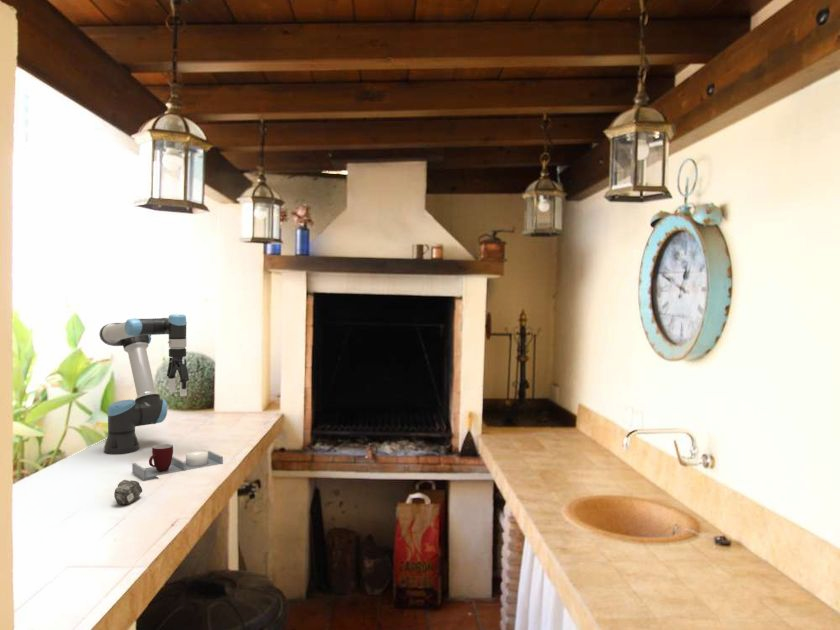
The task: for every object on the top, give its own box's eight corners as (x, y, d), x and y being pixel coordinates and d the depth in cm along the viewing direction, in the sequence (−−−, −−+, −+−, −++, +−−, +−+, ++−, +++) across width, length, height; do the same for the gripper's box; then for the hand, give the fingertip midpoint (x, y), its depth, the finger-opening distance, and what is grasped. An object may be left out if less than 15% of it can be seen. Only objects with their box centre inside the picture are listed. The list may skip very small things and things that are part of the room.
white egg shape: (182, 463, 268) (182, 451, 268) (202, 459, 274) (202, 448, 274) (190, 467, 262) (190, 455, 262) (211, 463, 268) (211, 452, 268)
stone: (140, 514, 220) (132, 493, 215) (119, 518, 219) (110, 498, 214) (146, 487, 232) (138, 467, 227) (126, 491, 231) (118, 471, 226)
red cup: (159, 475, 250) (159, 451, 250) (143, 473, 252) (143, 449, 252) (177, 468, 260) (177, 445, 260) (161, 466, 262) (161, 443, 262)
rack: (132, 473, 257) (132, 463, 257) (209, 459, 279) (209, 450, 279) (143, 480, 246) (143, 470, 246) (222, 466, 269) (222, 456, 268)
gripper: (159, 346, 290) (159, 391, 290) (179, 350, 271) (179, 398, 272) (175, 346, 295) (175, 390, 295) (196, 349, 276) (196, 396, 277)
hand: (177, 394), depth 284 cm, fingers open, 13 cm apart
